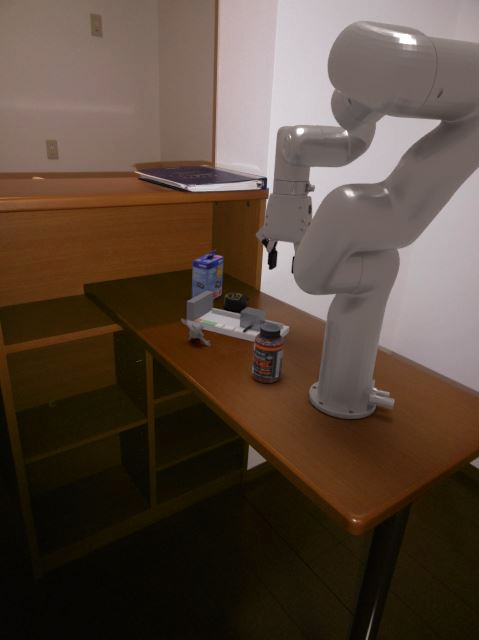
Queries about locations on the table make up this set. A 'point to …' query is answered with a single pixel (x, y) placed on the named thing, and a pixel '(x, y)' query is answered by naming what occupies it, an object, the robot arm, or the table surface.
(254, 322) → the block
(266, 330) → the supplement bottle
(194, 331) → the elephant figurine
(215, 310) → the board
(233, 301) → the tape measure
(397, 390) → the table surface
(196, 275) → the ink cartridge box
